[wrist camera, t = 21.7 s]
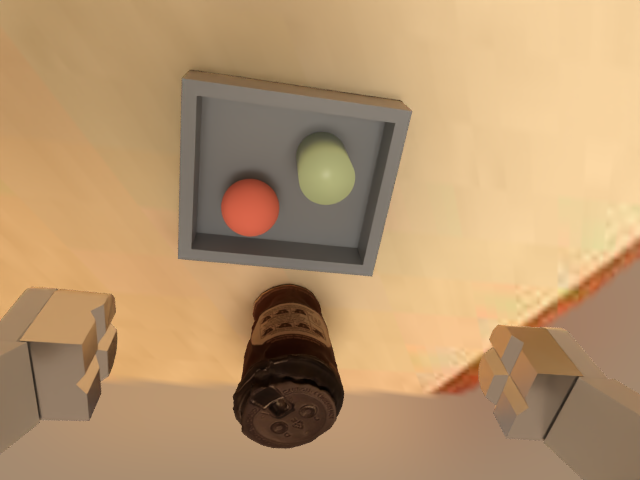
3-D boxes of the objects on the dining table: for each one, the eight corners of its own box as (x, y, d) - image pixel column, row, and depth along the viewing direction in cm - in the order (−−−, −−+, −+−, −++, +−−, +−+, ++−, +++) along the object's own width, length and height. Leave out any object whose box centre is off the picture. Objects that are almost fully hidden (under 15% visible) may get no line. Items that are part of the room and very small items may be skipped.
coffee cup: (241, 269, 43) (229, 372, 32) (332, 270, 44) (352, 371, 33) (242, 344, 47) (232, 460, 36) (326, 344, 48) (342, 456, 37)
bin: (185, 238, 41) (178, 258, 38) (190, 69, 35) (181, 78, 32) (365, 255, 43) (372, 276, 40) (400, 100, 37) (412, 111, 34)
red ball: (227, 166, 38) (218, 188, 34) (283, 174, 38) (281, 197, 34) (224, 216, 40) (214, 243, 36) (277, 223, 40) (274, 250, 37)
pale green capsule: (300, 128, 37) (303, 147, 32) (350, 135, 37) (360, 155, 33) (292, 176, 39) (294, 201, 34) (340, 183, 39) (349, 208, 35)
